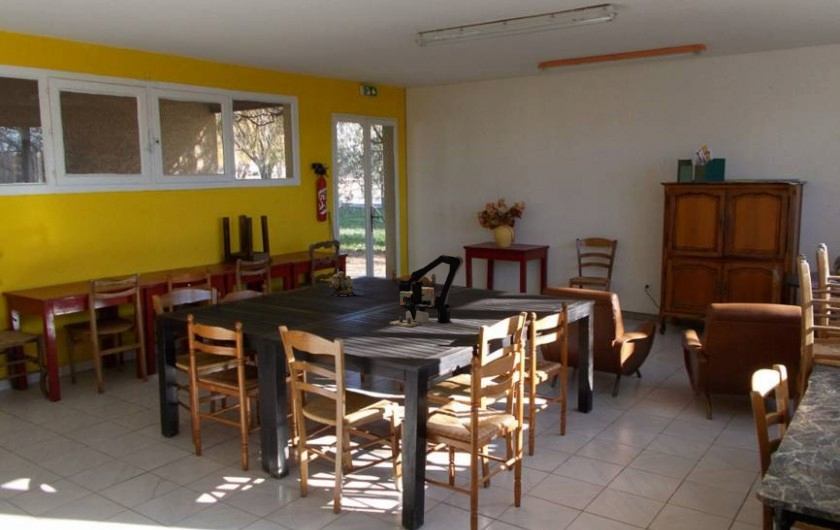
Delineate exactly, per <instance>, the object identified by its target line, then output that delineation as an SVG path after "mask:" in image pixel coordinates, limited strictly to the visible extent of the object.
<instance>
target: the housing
mask: <svg viewBox="0 0 840 530" xmlns="http://www.w3.org/2000/svg"><path fill="white" fill-rule="evenodd" d="M429 316H430V313H429V312H426V311H425V312H420V311H419V310H417V312H416V317H415V320H413V319H412V316H411V313H410V311H409V310H408V311H406V312H405V320H406V321H407V318H411V321H412V322H413V321H416V322H418V323H419V322H424V323H427V322H426V321H428V322H430V320H429V319H430V318H429Z"/></svg>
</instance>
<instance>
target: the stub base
mask: <svg viewBox="0 0 840 530" xmlns="http://www.w3.org/2000/svg"><path fill="white" fill-rule="evenodd" d="M398 318H399V319H398V320H393V321H390V322H388V323H389V325H392V324H393V325H392V326H397V325H398V327H403V326H404V328H409V327H410V328H413V327H412V326H414V327H417V326H416V325H418V326H420V324H421V325H422V323H419V322H413V321H411V318H407V320H406V319H404V318H403V315H401V316H399V317H398Z"/></svg>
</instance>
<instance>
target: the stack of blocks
mask: <svg viewBox="0 0 840 530" xmlns="http://www.w3.org/2000/svg"><path fill="white" fill-rule="evenodd" d="M411 294H412V290H411V291H410V292H400V291H399V298H400V299H399V301H400V302H399V304H400V305H404V304H405V302H403V297H405V296H407V297H410V295H411ZM422 294H424V296H422V300H430V301H431V305H429V306H428V307H432V306H433V307H435V306H434V304H435V302H434V301H435V287H430V286H426V287H425V286H422ZM400 305H399V306H400ZM426 306H427V304H426ZM433 307H432V308H433Z"/></svg>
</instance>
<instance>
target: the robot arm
mask: <svg viewBox="0 0 840 530" xmlns="http://www.w3.org/2000/svg"><path fill="white" fill-rule="evenodd" d="M463 259H464V258H462V257H461V256H459V255H456V256H453V255H451V256H450V255H446V254H442V255H439V256H438V257H437V258H436V259H434V260H432V261H431V262H429V263H428V264H427V265H425V266H424V267H422V268H421V267H420V268H419V269H417V270H415V271H413V272H412V273H411V274H410V277H409V279H407V280H405V279H401V280H400V283H399V286H398V290H399V293H400V292H410V291H412V294H411V295H410V297H407V296H405V297H403V302H405V304H404V305H403V306H402V307H403V309H406V310H408V311H410V313H411V316H412V319H413V320H415V317H416V312H417V311H420V312H426V311H427V309H428V308H427V307H428V306H429V305H431V301H430V300H422V296H424V294H422V287H423V286H425V285H426V284H427V283H426V282H424V280H423V278H424V277H425V276H426V275H427V274H428V273H430V272H431V271H432V270H434V269H436V268H437V267H438V266H440V265H441V264H443V263H444V264H446V265H449V269H448V270H449V271H448V272H447V273H448V274H447V275H446V279H445V281H444V284H443V287H442V290H441V292H440V294H436V296H435V298H434V306H433V307H435V309H436V310H437V321H436V323H438V322H439V324H444V323H446V324H449V322H450V323H452V320H451V312H450V311H451V309H452V307H451V305H449V303H448V302H449V301H448V300H449V294H450V292H451V288H452V286H453V283H454V281H455V278H456V276H457V273H458V272H459V270H460V269H461V267H462V266H463V264H464V260H463ZM426 304H427V306H426ZM415 306H418V307H417V308H416V307H415Z"/></svg>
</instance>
